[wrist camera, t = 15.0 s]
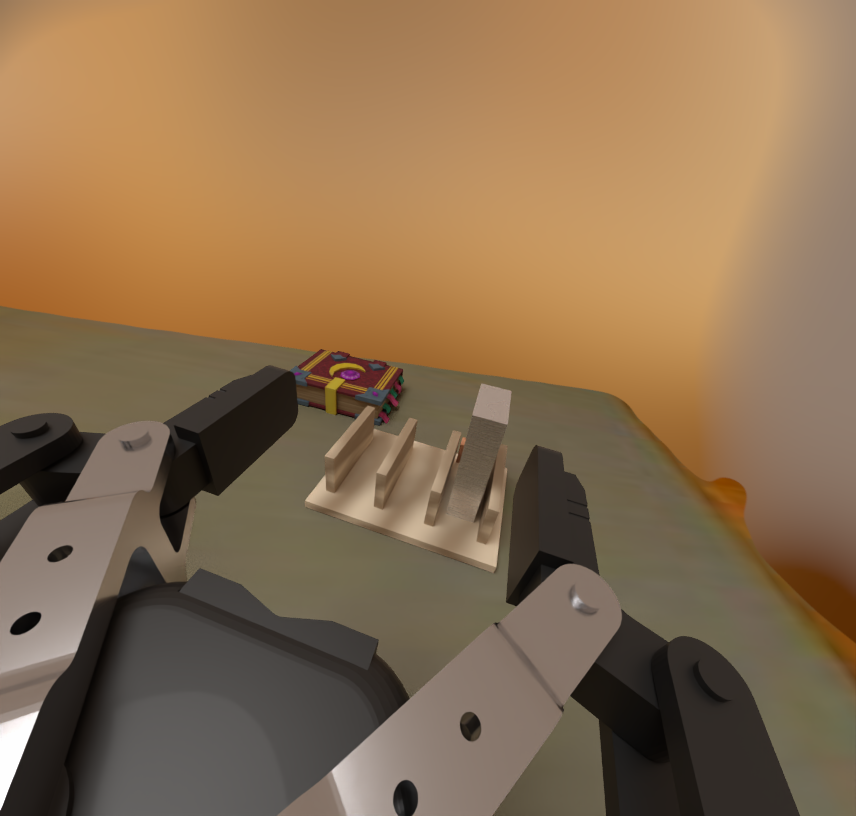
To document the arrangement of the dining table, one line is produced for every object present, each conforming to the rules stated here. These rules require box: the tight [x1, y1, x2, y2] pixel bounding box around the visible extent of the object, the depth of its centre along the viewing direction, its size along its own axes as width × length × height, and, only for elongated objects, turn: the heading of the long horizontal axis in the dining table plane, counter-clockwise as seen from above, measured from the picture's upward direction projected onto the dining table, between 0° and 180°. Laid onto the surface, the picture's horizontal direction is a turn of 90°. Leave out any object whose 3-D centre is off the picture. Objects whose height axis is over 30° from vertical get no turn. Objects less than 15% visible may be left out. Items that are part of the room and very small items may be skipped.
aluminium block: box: [446, 383, 511, 523], centre depth 33 cm, size 3×6×13 cm, turn 165°
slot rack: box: [305, 406, 507, 573], centre depth 37 cm, size 20×14×6 cm
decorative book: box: [290, 349, 404, 426], centre depth 51 cm, size 11×16×5 cm
